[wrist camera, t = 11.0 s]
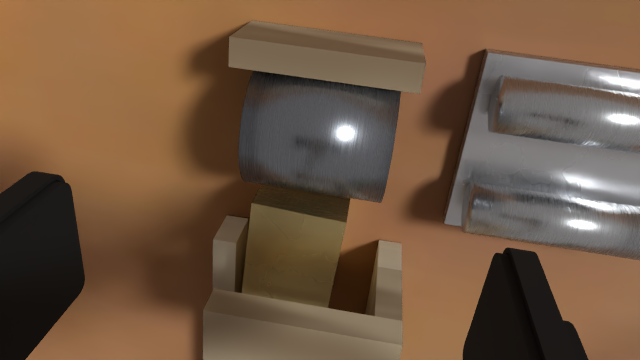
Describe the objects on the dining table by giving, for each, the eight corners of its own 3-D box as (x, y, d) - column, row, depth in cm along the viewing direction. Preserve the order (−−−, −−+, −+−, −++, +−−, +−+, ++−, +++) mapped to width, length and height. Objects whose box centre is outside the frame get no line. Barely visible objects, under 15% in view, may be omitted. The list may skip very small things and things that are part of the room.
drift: (306, 397, 29) (295, 456, 26) (244, 383, 29) (225, 440, 26) (353, 179, 22) (346, 223, 19) (272, 162, 22) (251, 203, 19)
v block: (714, 79, 18) (759, 102, 16) (634, 246, 22) (663, 285, 19) (485, 49, 19) (498, 67, 16) (443, 216, 22) (448, 251, 20)
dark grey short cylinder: (386, 195, 16) (377, 207, 20) (405, 63, 17) (393, 102, 21) (231, 171, 16) (254, 188, 21) (255, 41, 17) (273, 84, 21)
